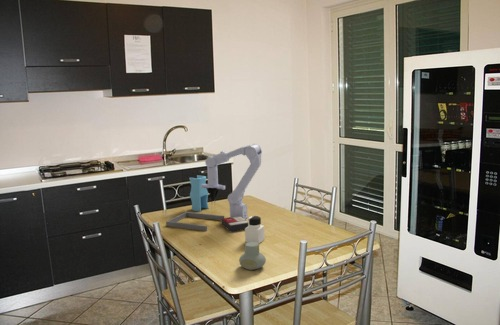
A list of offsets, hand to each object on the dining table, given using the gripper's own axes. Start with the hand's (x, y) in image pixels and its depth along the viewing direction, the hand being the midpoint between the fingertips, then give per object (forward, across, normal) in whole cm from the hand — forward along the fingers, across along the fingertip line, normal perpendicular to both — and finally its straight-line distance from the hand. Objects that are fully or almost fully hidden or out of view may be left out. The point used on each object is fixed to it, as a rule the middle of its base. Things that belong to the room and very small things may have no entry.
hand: (213, 200), depth 260 cm
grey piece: (+10, -4, -14) cm, 17 cm away
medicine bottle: (+10, +38, -30) cm, 49 cm away
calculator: (+10, +19, -12) cm, 25 cm away
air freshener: (+10, +49, -59) cm, 77 cm away
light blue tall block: (+10, -16, +12) cm, 22 cm away
